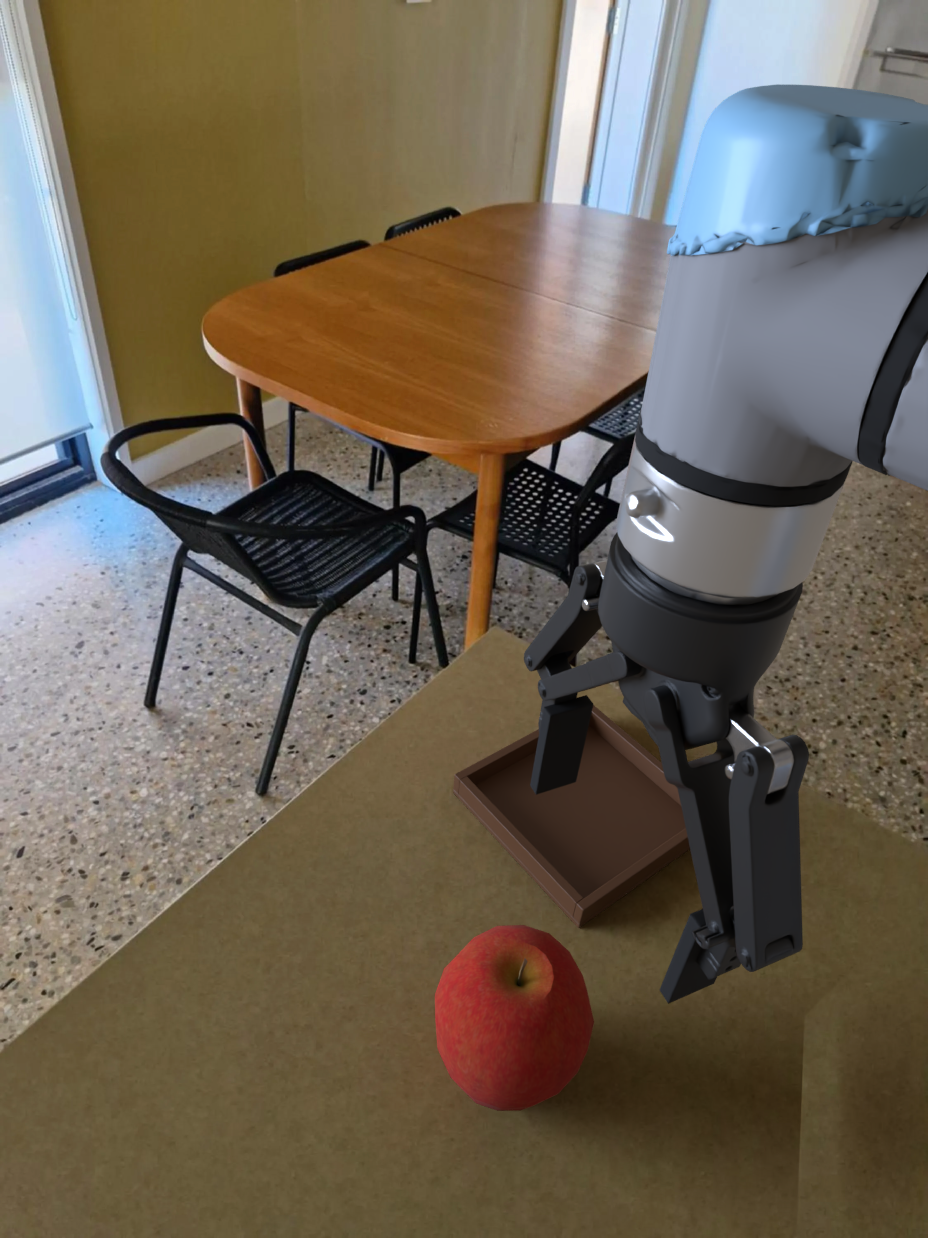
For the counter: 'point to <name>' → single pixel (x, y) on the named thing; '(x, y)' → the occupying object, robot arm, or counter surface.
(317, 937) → the counter surface
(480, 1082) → the apple
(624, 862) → the tray
